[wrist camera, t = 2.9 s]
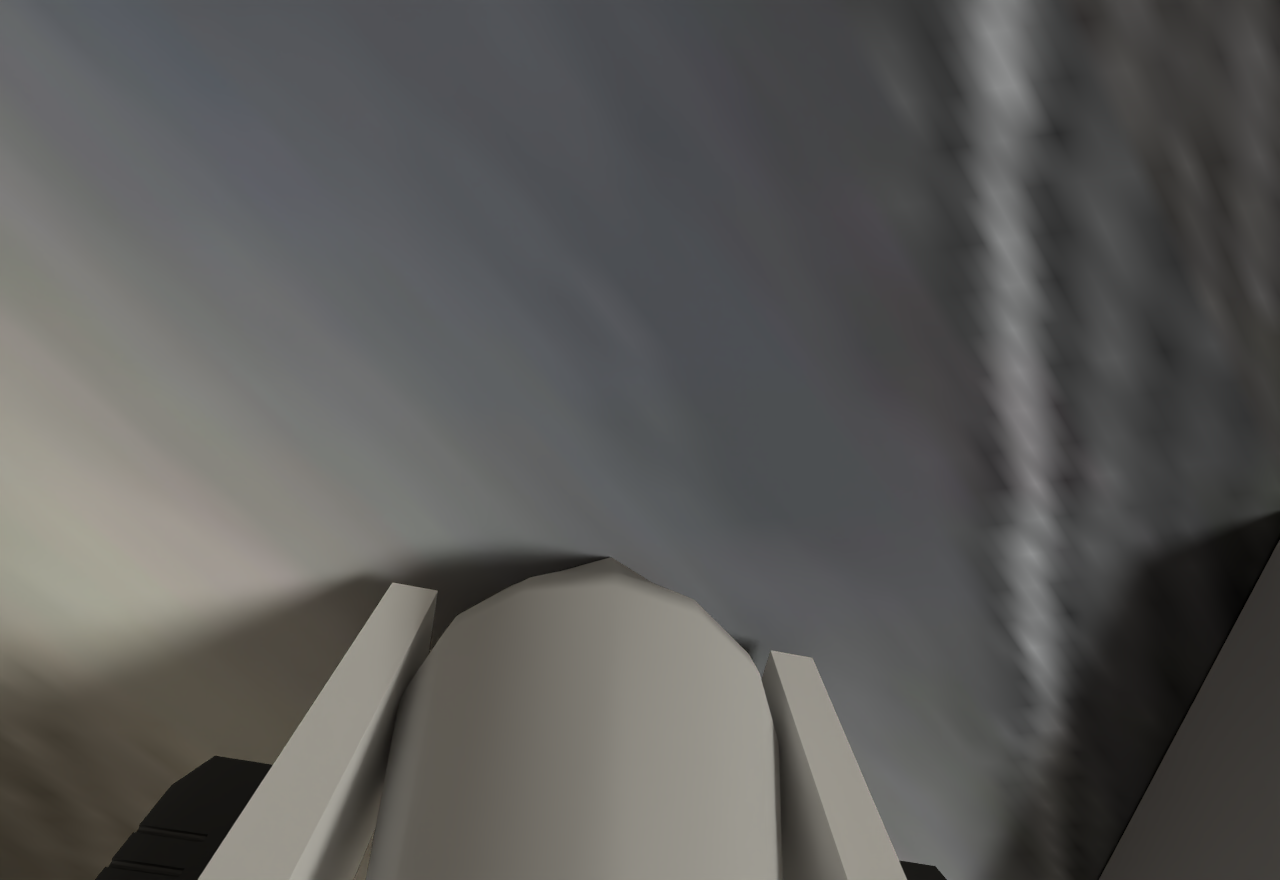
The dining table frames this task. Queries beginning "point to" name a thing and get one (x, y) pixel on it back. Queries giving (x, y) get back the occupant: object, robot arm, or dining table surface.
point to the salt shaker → (582, 743)
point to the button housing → (1219, 766)
